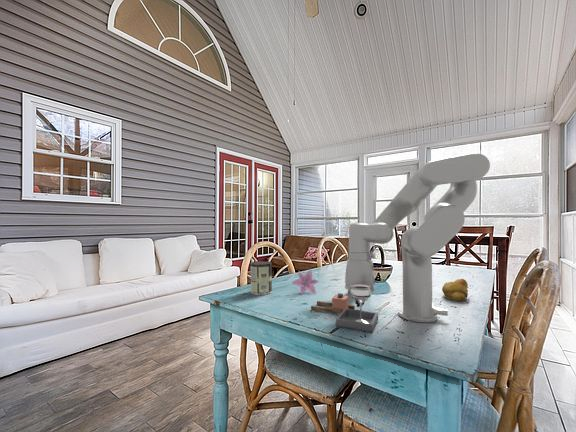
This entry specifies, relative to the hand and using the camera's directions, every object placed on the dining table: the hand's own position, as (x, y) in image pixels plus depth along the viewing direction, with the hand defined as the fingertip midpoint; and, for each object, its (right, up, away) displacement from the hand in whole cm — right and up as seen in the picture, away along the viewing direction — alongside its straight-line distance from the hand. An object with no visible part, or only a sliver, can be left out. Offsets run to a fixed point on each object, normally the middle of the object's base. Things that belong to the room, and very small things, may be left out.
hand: (359, 306), depth 104 cm
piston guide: (-10, -3, +3) cm, 11 cm away
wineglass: (-2, -2, -10) cm, 10 cm away
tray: (-3, -3, -10) cm, 10 cm away
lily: (-18, -3, +30) cm, 35 cm away
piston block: (-7, -3, +3) cm, 8 cm away
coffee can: (-39, -3, +31) cm, 50 cm away
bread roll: (+45, -3, +17) cm, 49 cm away
